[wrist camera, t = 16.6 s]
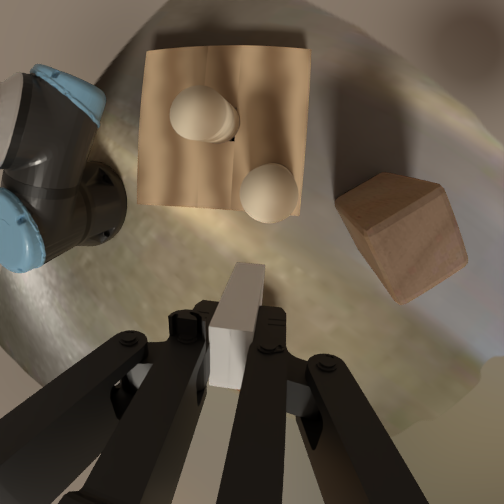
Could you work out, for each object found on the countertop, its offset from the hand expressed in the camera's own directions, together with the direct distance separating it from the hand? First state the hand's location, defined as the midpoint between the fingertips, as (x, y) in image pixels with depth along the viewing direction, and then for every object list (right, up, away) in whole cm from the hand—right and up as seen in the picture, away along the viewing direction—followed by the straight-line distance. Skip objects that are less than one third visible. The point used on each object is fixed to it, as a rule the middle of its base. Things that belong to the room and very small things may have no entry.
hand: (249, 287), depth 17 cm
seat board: (-4, +21, +28) cm, 35 cm away
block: (+19, +8, +30) cm, 36 cm away
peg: (-4, +21, +27) cm, 35 cm away
